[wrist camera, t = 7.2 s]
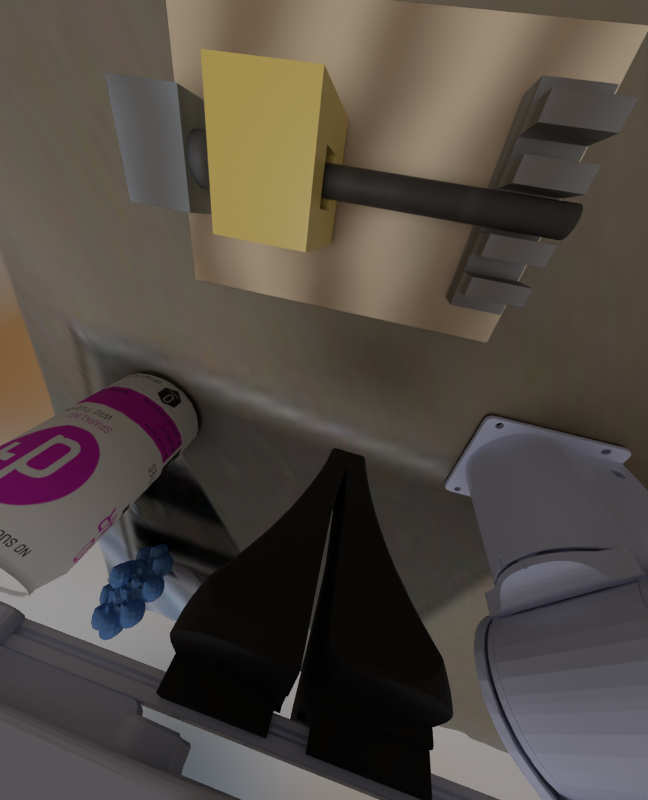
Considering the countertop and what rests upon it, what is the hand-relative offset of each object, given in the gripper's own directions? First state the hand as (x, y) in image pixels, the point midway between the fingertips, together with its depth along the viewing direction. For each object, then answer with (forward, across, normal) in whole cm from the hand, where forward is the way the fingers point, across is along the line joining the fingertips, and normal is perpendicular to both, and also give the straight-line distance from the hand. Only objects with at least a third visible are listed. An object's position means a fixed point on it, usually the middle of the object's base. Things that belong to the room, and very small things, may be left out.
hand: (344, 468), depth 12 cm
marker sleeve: (+9, +6, -10) cm, 14 cm away
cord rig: (+10, +3, -10) cm, 14 cm away
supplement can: (+10, +18, +10) cm, 22 cm away
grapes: (+10, +23, +38) cm, 45 cm away
